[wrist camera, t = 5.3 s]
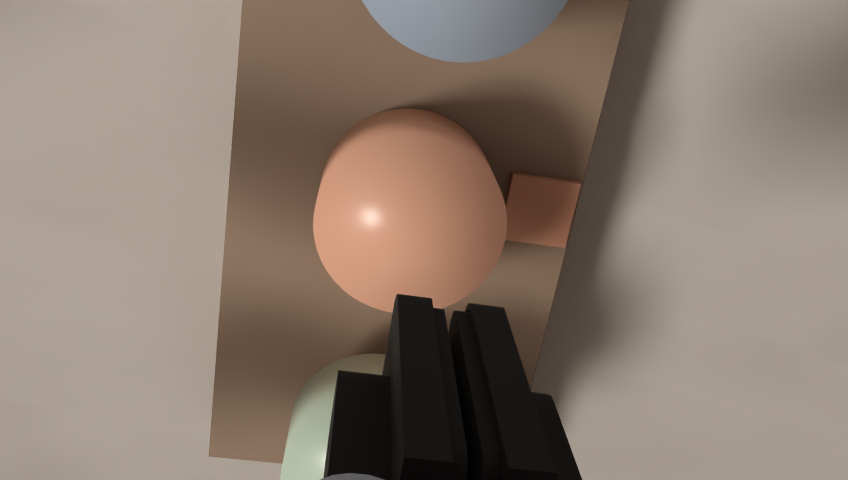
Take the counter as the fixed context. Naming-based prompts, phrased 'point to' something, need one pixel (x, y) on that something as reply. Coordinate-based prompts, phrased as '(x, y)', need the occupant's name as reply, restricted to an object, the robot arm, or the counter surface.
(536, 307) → the button board
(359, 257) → the button terracotta
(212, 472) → the counter surface
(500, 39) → the button slate
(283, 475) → the button sage
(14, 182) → the counter surface
